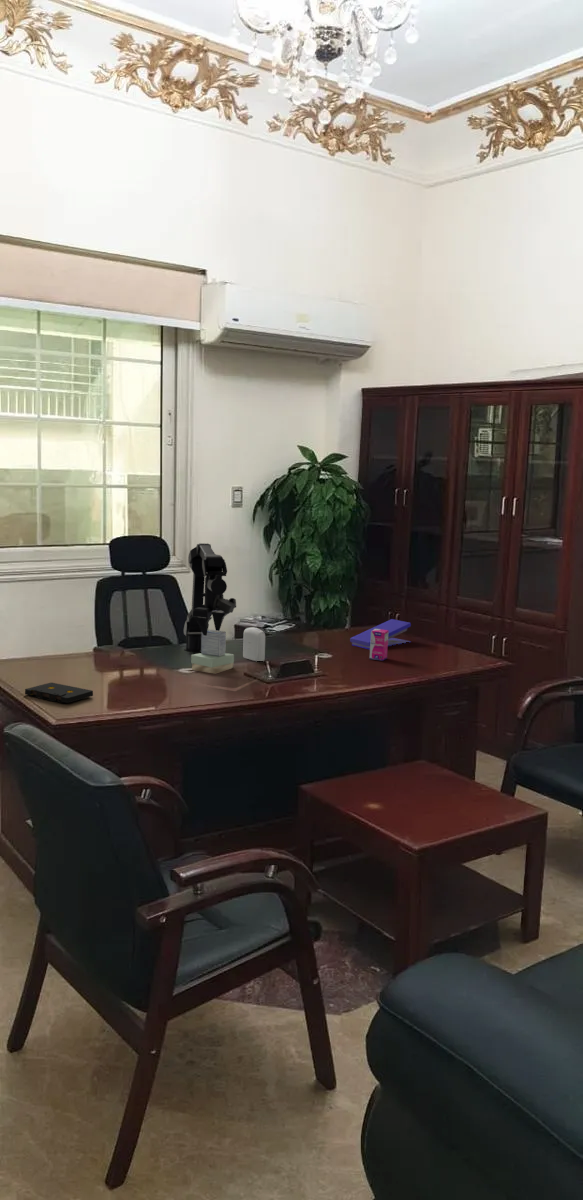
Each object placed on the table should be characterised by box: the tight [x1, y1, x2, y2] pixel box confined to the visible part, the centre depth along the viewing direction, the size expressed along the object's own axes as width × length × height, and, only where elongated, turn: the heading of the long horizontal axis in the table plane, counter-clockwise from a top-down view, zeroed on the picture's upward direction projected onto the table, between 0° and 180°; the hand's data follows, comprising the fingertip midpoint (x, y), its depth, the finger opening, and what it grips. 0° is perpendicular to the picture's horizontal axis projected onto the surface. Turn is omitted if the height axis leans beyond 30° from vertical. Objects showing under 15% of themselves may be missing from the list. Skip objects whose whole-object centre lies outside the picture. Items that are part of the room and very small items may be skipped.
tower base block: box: [191, 663, 234, 675], centre depth 332 cm, size 10×12×3 cm
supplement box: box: [369, 629, 389, 662], centre depth 361 cm, size 6×6×12 cm
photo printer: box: [242, 626, 266, 662], centre depth 350 cm, size 10×4×12 cm, turn 39°
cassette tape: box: [24, 682, 94, 704], centre depth 288 cm, size 18×12×2 cm, turn 60°
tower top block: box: [190, 652, 235, 667], centre depth 332 cm, size 10×12×3 cm
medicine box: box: [200, 628, 227, 656], centre depth 331 cm, size 8×4×9 cm, turn 62°
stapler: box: [349, 618, 412, 651], centre depth 390 cm, size 12×28×10 cm, turn 134°
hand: (211, 633), depth 331 cm, fingers open, 9 cm apart
